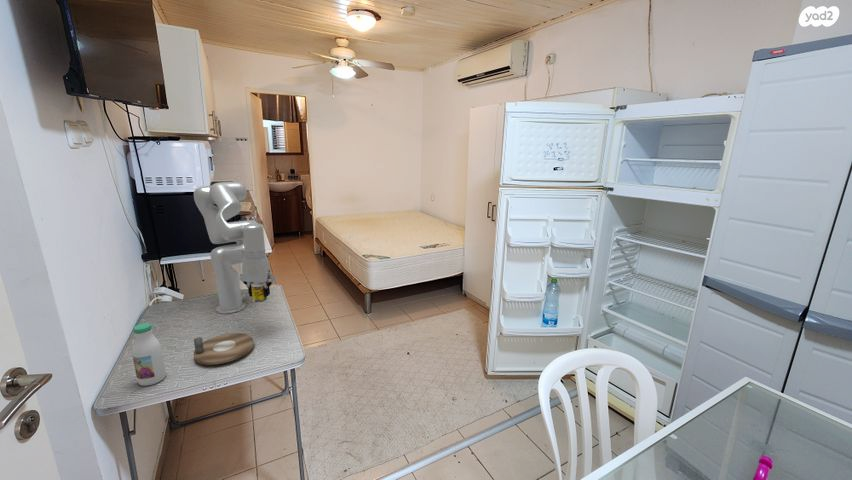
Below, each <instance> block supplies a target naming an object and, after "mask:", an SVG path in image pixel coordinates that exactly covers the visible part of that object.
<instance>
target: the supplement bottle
mask: <svg viewBox="0 0 852 480" xmlns="http://www.w3.org/2000/svg"><path fill="white" fill-rule="evenodd" d="M264 288H265V287H264V285H263V283H256V282H252V283H251V290H252V296H251V298H252V302H253V303H254V304H262V303H266V302H267V300H268V296H267V297H264V290H263V289H264Z"/></svg>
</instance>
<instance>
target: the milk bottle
mask: <svg viewBox="0 0 852 480" xmlns="http://www.w3.org/2000/svg"><path fill="white" fill-rule="evenodd" d="M132 328H133V333H134V335H135V339H134V342H133V346H132V349H131V352H132V359H133V365H134V370H135V374H136V381H137V383H138V385H140V386H143V387H149V386H152V385H155V384H157V383H160V382H162V381H163V380H164V379H165V378H166V377H165V376H167V370H166V364H165V359H164V354H163V349H162V345H161V342H160V341H159V339H157V337H156V336H155V335H154V334H153V329H152V324H151V323H149V322H145V323H140V324H137V325H135V326H134V327H132ZM161 380H162V381H161Z"/></svg>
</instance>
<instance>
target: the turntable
mask: <svg viewBox="0 0 852 480" xmlns="http://www.w3.org/2000/svg"><path fill="white" fill-rule="evenodd" d="M193 343H194V350H193V358H194V360H195V362H197V363H198V364H203V365H206V366H207V365H220V364H225V363H229V362H232V361H234V360H235V361H236V360H238V359H239V358H241V357H244V356H245V355H247V354H249V352H251V350H252V349H253V348H254V338H253V337H252V336H251V335H250V334H247V333H242V332H234V333H233V332H232V333H226V334H221V335H220V334H219V335H217V336H214V337H211V338H209V339H207V340H205V341H203V337H202V336H201V337H195V338H193Z"/></svg>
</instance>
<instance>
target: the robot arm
mask: <svg viewBox="0 0 852 480" xmlns="http://www.w3.org/2000/svg"><path fill="white" fill-rule="evenodd" d="M247 195H248V191H247V188H246V186H245V185H244V184H243V183H242V182H240V181H223V182H215V183H213V184H211V185H205V186H204V185H203V186H199V187H197V188H195V189H194V191H193V200H194V202H195V205H196V207H197V208H198V210H199V212H200V213H201V215H202V217H203V219H204V224H205V227H206V231H207V234H208V237H209V240H210V242H211V243H212V244H214V245H221V244H227V243H233V242H236V243H234V244H227V245H221V246H218V247H214V249H212V250H211V252H210V255H209V256H210V261H211V264H212V266H213V270H214V275H215V282H216V288H217V297H218V302H219V305H218V306H217V307H216V308H215V309H216V312H217V313H219V314H224V315H226V314H234V313H237V312H240V311H242V310H244V309H245V308H246V306H247V305H246V302H245V301H243V299H244V298H246V297H247V296H246V294H245V293H242V292H241V283H240V281H241V282H242V283H243V284H244V285H245V287H246V288H247V289H248V290H247V291H248V295H249V296H248V297H251V298H252V290H251V283H252V282H256V283H263V285H264V287H265V288H264V289H263V290H264V297H267V298H268V296H270V293H271V290H270V286H271V285H273V283H275V281H277V278H276V277H275V276H274V275H273V274H272V271H271V264H270V261H269V258H268V256H267V254H266V246H265V245H266V244H265V235H264V227H263V225H262V224H261V223H258V222H257V221H256V220H253V219H248V220H239V221H230V222H227V221H228V220H230V219H231V218H233V217H235V216H237V215H238V214H240V212H241V210H242V202H241V201H243V200H244V201H245V199H246V198H247ZM236 264H237V265H238V264H242V265H241V268H242V271H241V272H242V274H241V275H240V277H239V272H238V270H237V269H235V268H234V267H233V266H234V265H236Z"/></svg>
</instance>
